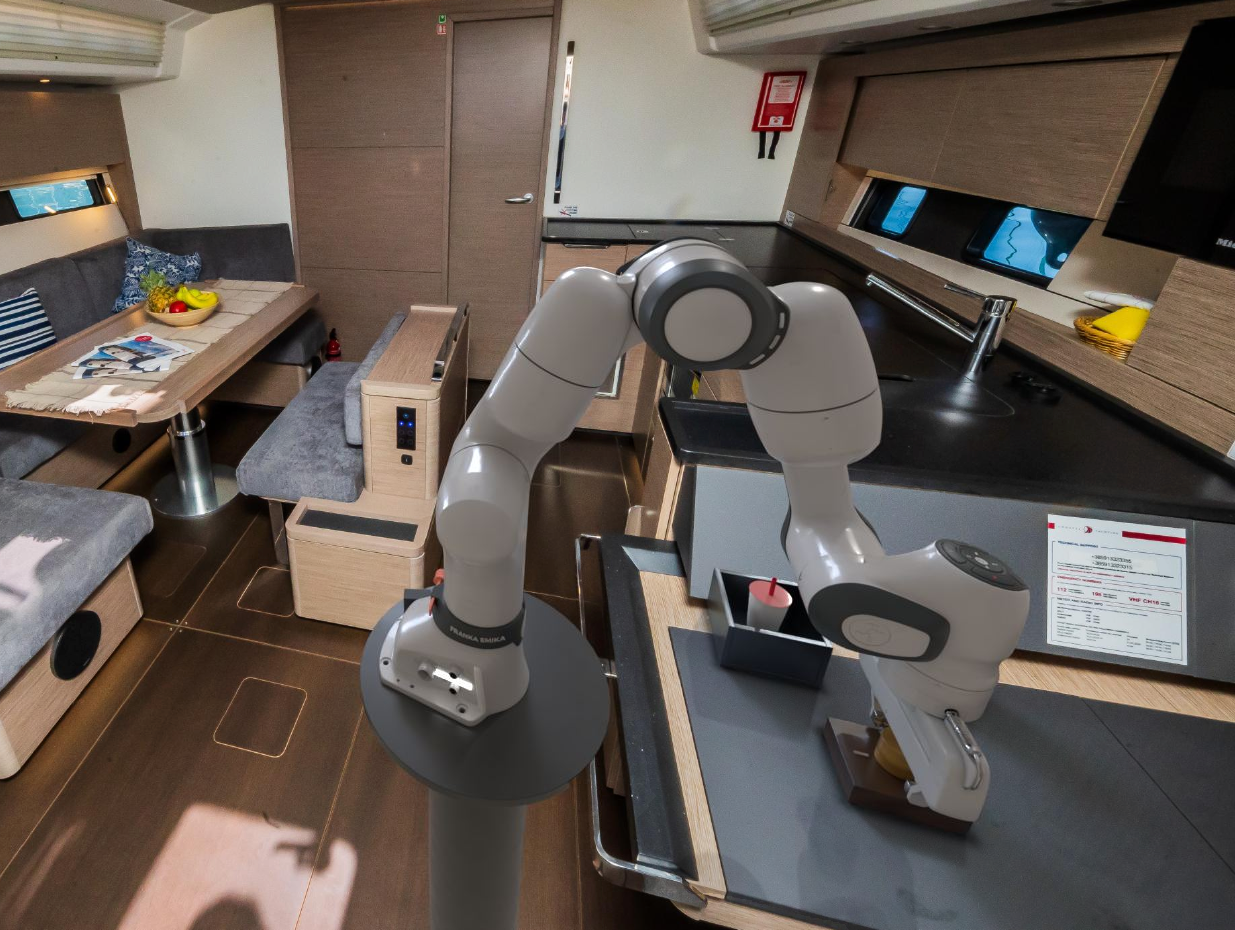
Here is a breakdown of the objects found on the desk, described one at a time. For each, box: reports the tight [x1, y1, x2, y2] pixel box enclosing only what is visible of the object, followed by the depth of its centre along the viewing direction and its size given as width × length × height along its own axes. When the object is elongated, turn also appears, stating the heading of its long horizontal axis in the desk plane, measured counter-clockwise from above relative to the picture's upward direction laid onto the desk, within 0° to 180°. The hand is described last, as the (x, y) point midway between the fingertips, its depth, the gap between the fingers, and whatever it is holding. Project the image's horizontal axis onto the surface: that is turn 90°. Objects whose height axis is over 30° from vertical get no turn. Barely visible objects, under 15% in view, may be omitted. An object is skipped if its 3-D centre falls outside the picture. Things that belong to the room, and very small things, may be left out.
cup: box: [747, 576, 792, 632], centre depth 87 cm, size 5×5×12 cm
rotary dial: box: [822, 716, 975, 836], centre depth 69 cm, size 11×9×3 cm
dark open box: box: [706, 567, 835, 690], centre depth 87 cm, size 13×13×8 cm
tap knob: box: [874, 727, 915, 780], centre depth 68 cm, size 4×4×4 cm
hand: (895, 758), depth 69 cm, fingers open, 8 cm apart
